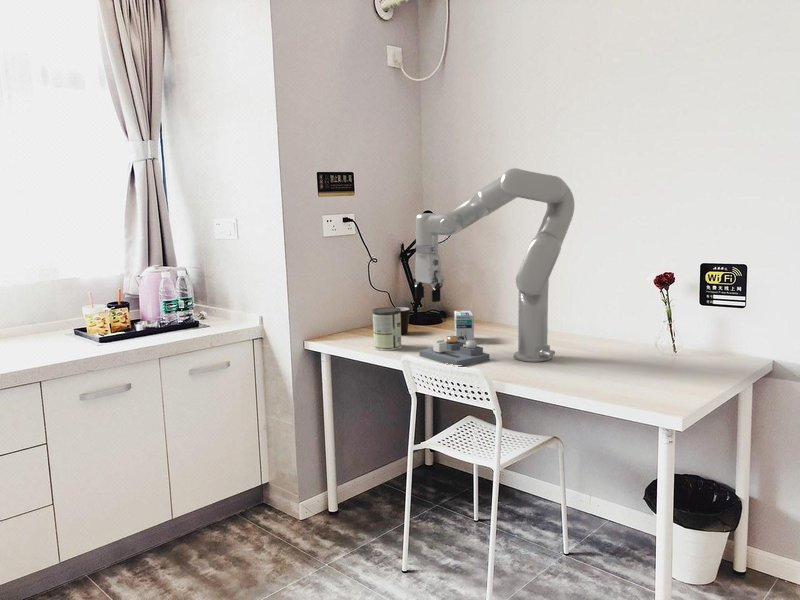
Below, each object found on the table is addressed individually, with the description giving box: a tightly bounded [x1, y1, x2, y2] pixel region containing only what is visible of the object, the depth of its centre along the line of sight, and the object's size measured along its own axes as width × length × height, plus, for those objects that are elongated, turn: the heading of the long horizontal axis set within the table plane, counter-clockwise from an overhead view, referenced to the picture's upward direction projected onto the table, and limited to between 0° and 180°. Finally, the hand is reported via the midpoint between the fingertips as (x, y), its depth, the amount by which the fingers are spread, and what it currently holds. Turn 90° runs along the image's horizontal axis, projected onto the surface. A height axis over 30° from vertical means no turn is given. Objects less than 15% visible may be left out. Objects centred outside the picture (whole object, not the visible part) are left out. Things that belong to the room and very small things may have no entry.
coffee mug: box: [395, 306, 411, 336], centre depth 266 cm, size 12×9×10 cm
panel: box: [418, 340, 490, 367], centre depth 226 cm, size 20×14×4 cm
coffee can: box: [371, 306, 403, 352], centre depth 244 cm, size 10×10×14 cm
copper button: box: [446, 335, 457, 344], centre depth 232 cm, size 4×4×3 cm
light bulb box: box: [453, 310, 475, 345], centre depth 252 cm, size 11×7×11 cm, turn 179°
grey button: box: [465, 339, 478, 349], centre depth 224 cm, size 4×4×3 cm
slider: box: [432, 338, 447, 352], centre depth 226 cm, size 3×3×4 cm
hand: (427, 299), depth 231 cm, fingers open, 9 cm apart
